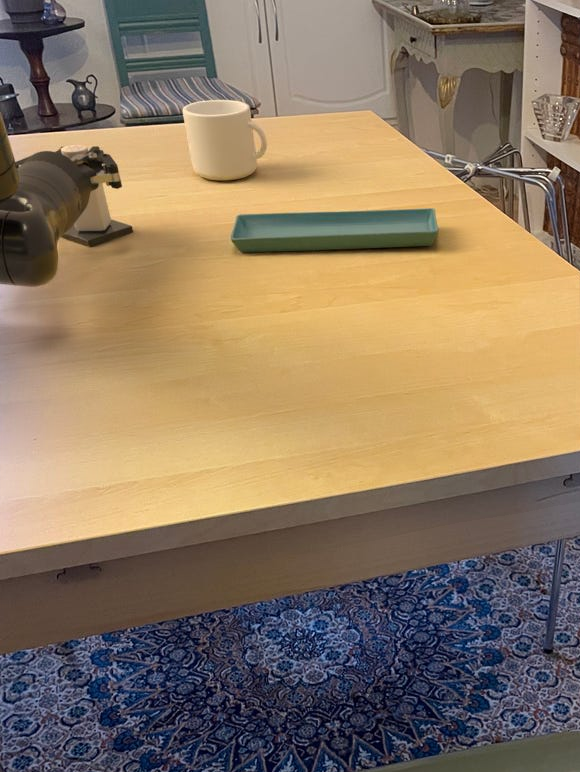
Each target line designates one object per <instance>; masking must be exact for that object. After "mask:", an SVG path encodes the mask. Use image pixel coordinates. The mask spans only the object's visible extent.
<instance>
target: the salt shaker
mask: <svg viewBox="0 0 580 772" xmlns="http://www.w3.org/2000/svg"><path fill="white" fill-rule="evenodd" d="M62 147H63V148H61V147H60V148H61V153H62V155H64V156H66V157H68V158H70V159H71V158H73V157H74V156H76V155H77V154H82V155H86V153H87V152H88V151H89V149H88V146H86V145H83V144H70V145H65V146H62ZM103 184H104V183H99V186H98V188H97V189H95V190H93V191H91V192H90V198H89V202H88V205H87V207H86V209H85V210H84V211H83V213H82V214H81V215H80V217H79V218H78V219H77V221H76V222H75V223H74V227H75V228H76V230H78V231H104V230H105V229H106V228H107V227H108V225H109V224H110V222H111V219H112V217H111V214H110V209H109V204H108V202H107V197H106V192H105V189H104V185H103Z"/></svg>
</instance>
